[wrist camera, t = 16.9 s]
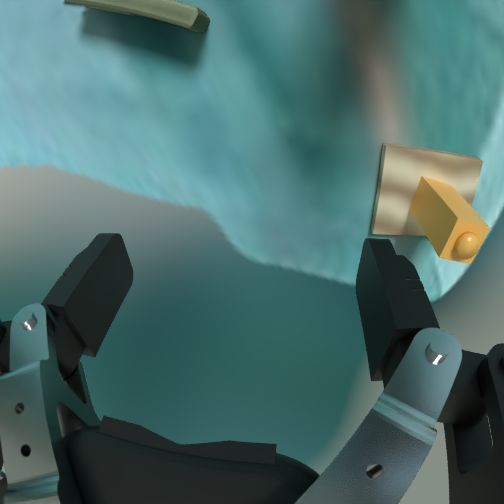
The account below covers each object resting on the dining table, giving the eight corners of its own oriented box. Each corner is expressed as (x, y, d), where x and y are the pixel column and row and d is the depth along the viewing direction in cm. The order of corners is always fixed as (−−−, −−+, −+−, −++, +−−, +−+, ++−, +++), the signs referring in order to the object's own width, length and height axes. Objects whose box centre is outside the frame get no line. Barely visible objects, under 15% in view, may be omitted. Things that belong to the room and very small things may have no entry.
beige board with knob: (382, 143, 38) (395, 156, 33) (478, 157, 36) (496, 171, 31) (370, 228, 46) (378, 249, 41) (458, 232, 44) (471, 251, 40)
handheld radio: (202, 37, 32) (63, 4, 27) (213, 16, 30) (71, -14, 25) (188, 32, 26) (36, 2, 21) (201, 7, 24) (44, -19, 20)
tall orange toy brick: (409, 209, 41) (442, 263, 31) (421, 175, 38) (462, 223, 27) (438, 216, 41) (474, 269, 31) (450, 185, 38) (494, 233, 27)
